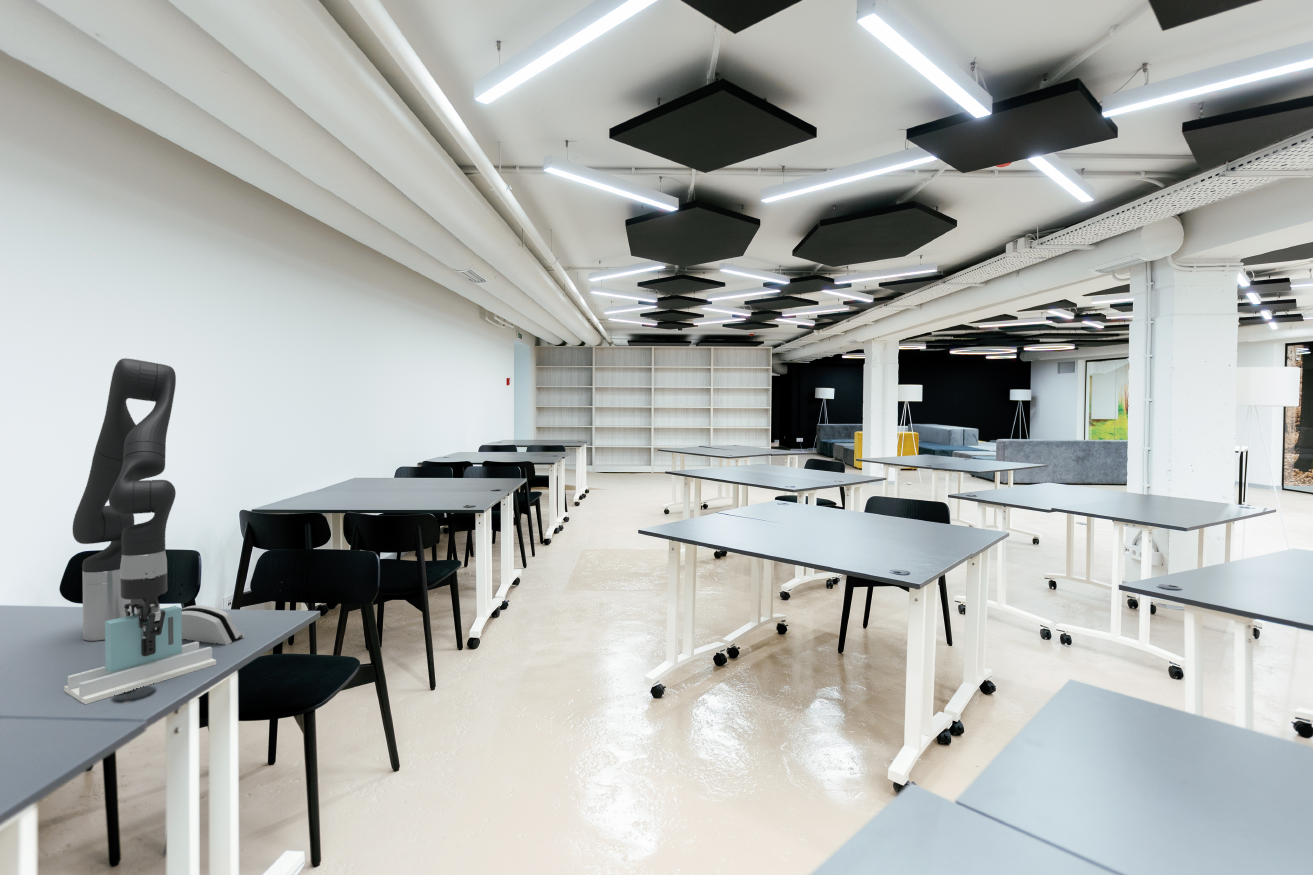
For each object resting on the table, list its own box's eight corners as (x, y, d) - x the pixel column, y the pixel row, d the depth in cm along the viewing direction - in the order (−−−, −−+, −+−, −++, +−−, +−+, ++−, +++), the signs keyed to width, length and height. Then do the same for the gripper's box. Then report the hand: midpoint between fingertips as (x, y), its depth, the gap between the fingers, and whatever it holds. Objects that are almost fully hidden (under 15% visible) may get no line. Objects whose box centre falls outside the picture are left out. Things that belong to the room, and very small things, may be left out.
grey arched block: (246, 637, 148) (233, 604, 145) (229, 650, 144) (216, 616, 140) (195, 631, 152) (181, 599, 149) (177, 643, 148) (163, 611, 144)
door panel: (105, 669, 120) (104, 621, 120) (175, 649, 131) (175, 605, 131) (111, 672, 119) (111, 623, 119) (182, 652, 129) (181, 607, 129)
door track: (64, 691, 118) (64, 674, 118) (193, 654, 137) (193, 639, 137) (85, 704, 112) (85, 686, 112) (216, 664, 132) (216, 649, 132)
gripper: (107, 572, 125) (108, 652, 125) (135, 581, 118) (136, 666, 118) (151, 565, 131) (152, 641, 131) (180, 573, 124) (181, 653, 125)
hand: (145, 652), depth 125 cm, fingers closed on door panel, 3 cm apart
